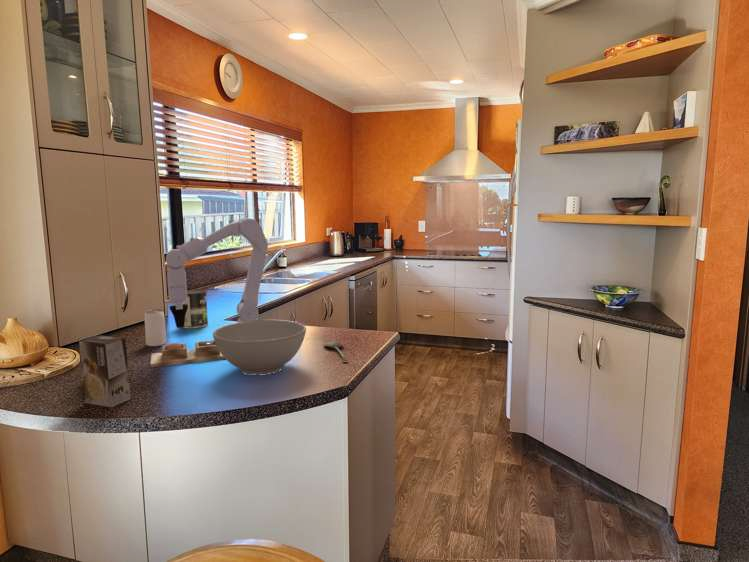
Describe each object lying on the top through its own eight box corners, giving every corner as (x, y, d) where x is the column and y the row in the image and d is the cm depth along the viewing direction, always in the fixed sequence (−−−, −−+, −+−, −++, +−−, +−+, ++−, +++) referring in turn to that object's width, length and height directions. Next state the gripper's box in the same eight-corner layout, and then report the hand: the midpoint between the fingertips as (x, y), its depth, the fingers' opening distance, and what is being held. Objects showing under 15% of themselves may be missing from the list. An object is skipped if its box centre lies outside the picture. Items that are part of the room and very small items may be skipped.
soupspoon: (341, 347, 182) (322, 349, 180) (340, 337, 181) (321, 340, 180) (355, 362, 161) (334, 365, 159) (354, 352, 160) (333, 355, 158)
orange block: (182, 351, 168) (181, 342, 167) (182, 355, 164) (181, 345, 163) (167, 352, 166) (166, 343, 166) (167, 356, 162) (166, 347, 162)
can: (159, 347, 179) (156, 313, 178) (142, 346, 181) (139, 312, 179) (170, 342, 186) (167, 309, 184) (153, 341, 187) (151, 308, 185)
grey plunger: (214, 349, 171) (213, 340, 171) (215, 353, 167) (214, 344, 167) (200, 351, 170) (199, 342, 169) (201, 354, 166) (200, 345, 165)
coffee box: (132, 399, 131) (127, 337, 129) (111, 408, 125) (105, 343, 123) (105, 394, 134) (99, 334, 132) (83, 403, 129) (77, 340, 126)
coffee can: (211, 322, 216) (209, 289, 214) (203, 328, 206) (201, 293, 204) (187, 322, 216) (185, 289, 214) (177, 328, 206) (175, 293, 204)
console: (228, 348, 177) (227, 337, 176) (232, 358, 166) (231, 345, 165) (151, 356, 168) (151, 344, 168) (150, 367, 157) (149, 354, 156)
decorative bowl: (210, 362, 161) (208, 324, 160) (294, 352, 172) (293, 316, 170) (221, 390, 137) (218, 345, 135) (318, 376, 147) (317, 334, 146)
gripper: (164, 284, 173) (166, 323, 175) (164, 290, 160) (167, 333, 162) (186, 282, 176) (188, 321, 178) (188, 288, 163) (191, 331, 165)
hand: (180, 327), depth 170 cm, fingers closed
